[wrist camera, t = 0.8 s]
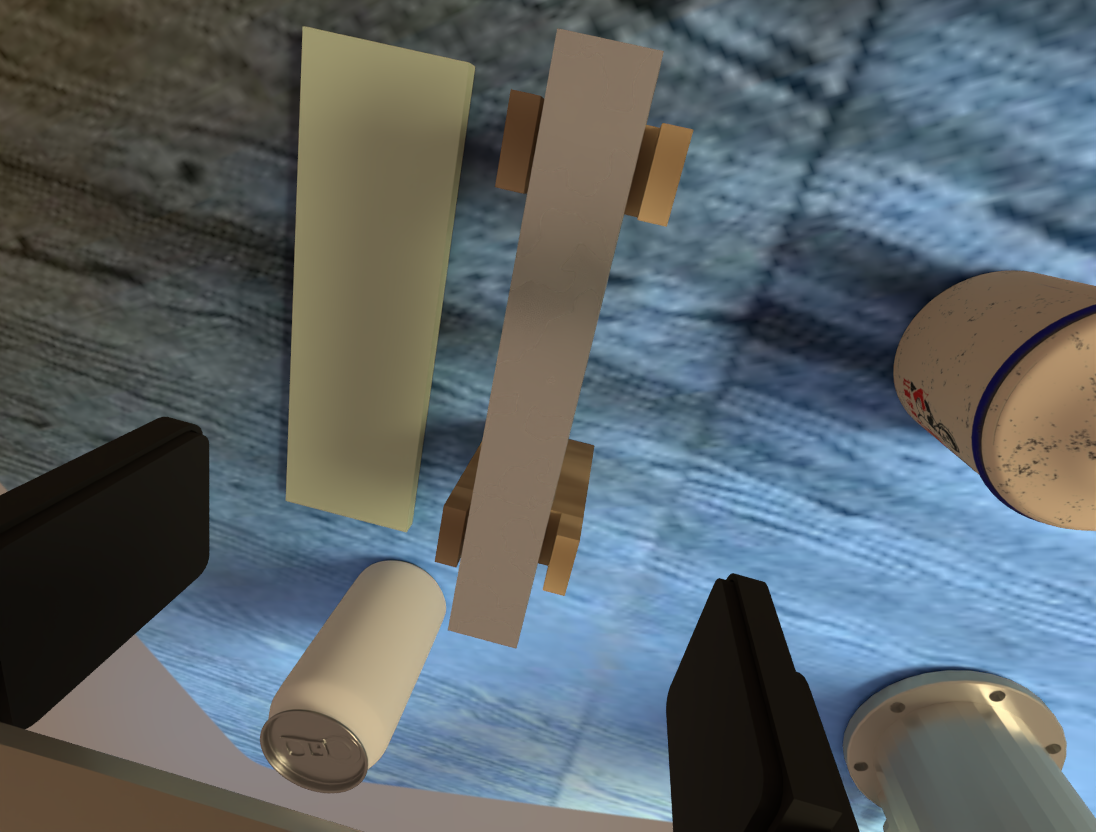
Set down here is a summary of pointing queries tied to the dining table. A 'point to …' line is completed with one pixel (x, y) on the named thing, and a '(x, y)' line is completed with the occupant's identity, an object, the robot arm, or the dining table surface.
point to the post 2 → (652, 171)
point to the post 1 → (561, 522)
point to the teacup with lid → (1011, 388)
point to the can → (354, 679)
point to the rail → (551, 318)
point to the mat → (369, 268)
